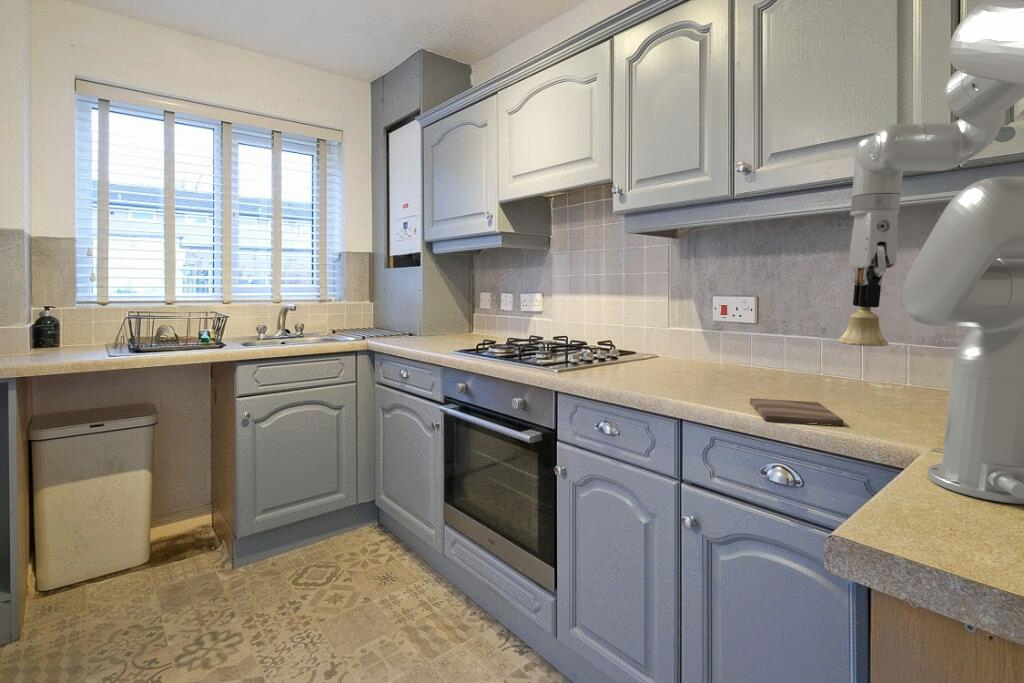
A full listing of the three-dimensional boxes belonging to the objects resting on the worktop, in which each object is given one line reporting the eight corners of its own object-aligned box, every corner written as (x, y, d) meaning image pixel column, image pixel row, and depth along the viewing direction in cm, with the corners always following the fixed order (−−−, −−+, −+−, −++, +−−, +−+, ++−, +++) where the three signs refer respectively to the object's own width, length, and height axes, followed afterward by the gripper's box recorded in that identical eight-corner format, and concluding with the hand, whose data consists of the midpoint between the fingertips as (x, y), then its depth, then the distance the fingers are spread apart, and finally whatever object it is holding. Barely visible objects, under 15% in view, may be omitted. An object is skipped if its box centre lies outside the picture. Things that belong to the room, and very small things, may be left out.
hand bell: (878, 347, 98) (887, 257, 96) (829, 342, 105) (836, 258, 103) (895, 344, 103) (903, 258, 101) (847, 339, 110) (854, 259, 108)
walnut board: (842, 426, 106) (843, 420, 106) (765, 421, 110) (765, 415, 109) (817, 407, 122) (817, 402, 122) (750, 403, 125) (750, 398, 125)
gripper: (918, 200, 92) (907, 310, 94) (880, 210, 107) (871, 304, 110) (868, 201, 94) (858, 309, 96) (838, 211, 109) (830, 303, 112)
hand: (865, 305), depth 103 cm, fingers closed on hand bell
